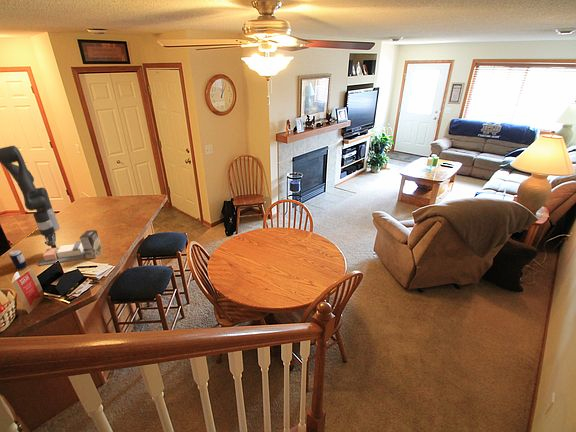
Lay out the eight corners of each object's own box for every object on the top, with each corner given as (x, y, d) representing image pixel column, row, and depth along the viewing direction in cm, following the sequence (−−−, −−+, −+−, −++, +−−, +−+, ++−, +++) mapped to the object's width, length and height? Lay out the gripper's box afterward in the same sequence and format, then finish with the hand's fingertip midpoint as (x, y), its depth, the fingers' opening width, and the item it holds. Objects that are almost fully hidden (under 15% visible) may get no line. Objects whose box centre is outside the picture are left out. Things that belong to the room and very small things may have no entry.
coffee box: (96, 258, 196) (89, 237, 189) (86, 258, 196) (79, 237, 188) (103, 250, 204) (96, 229, 197) (93, 250, 204) (86, 230, 196)
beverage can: (25, 263, 189) (18, 248, 183) (29, 267, 186) (22, 251, 181) (14, 268, 185) (6, 252, 179) (18, 271, 182) (10, 255, 177)
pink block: (49, 253, 197) (47, 248, 195) (60, 252, 199) (57, 247, 197) (45, 260, 191) (42, 255, 189) (56, 259, 192) (54, 253, 190)
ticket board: (48, 250, 202) (45, 242, 200) (89, 244, 210) (86, 237, 207) (39, 266, 188) (35, 258, 185) (83, 259, 195) (80, 251, 192)
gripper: (42, 222, 195) (51, 244, 203) (34, 232, 184) (44, 255, 192) (55, 220, 197) (64, 243, 205) (49, 230, 186) (58, 253, 194)
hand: (54, 249), depth 199 cm, fingers closed
